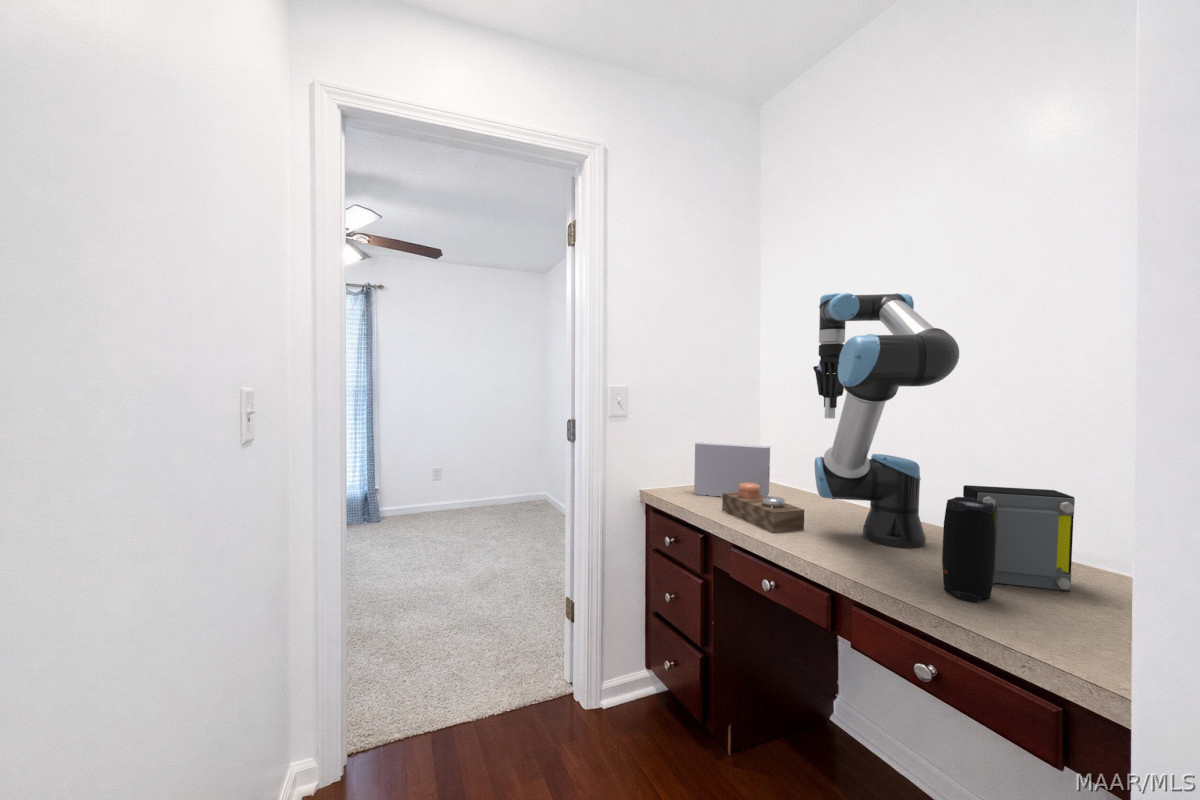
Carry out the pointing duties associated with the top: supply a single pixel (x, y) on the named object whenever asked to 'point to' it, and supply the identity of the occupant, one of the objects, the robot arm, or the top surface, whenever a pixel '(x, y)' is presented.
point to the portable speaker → (968, 548)
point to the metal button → (773, 502)
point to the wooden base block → (764, 513)
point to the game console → (730, 468)
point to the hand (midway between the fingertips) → (829, 418)
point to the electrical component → (1030, 535)
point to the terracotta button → (749, 490)
